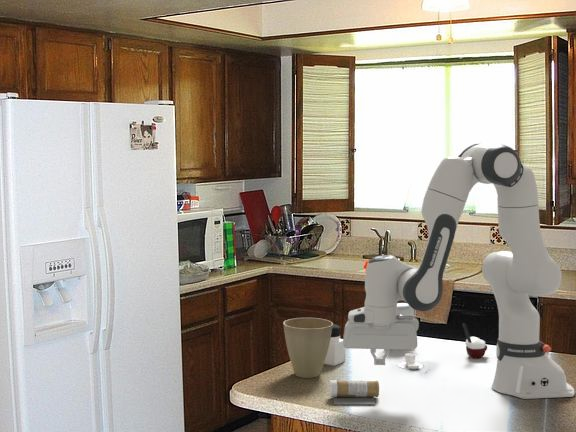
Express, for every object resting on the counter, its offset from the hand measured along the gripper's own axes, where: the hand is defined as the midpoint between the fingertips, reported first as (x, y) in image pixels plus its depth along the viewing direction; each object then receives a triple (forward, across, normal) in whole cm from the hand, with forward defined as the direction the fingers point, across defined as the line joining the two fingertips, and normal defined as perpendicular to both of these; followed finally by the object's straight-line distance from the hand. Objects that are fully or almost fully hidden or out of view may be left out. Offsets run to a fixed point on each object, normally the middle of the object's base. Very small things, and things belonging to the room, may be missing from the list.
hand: (379, 364), depth 231 cm
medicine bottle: (+10, +13, -37) cm, 40 cm away
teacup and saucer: (+10, -10, -32) cm, 35 cm away
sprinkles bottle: (+7, 0, 0) cm, 7 cm away
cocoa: (+9, -34, -45) cm, 57 cm away
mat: (+10, +7, -2) cm, 12 cm away
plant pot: (+10, +20, -22) cm, 31 cm away
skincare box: (+9, -11, -58) cm, 60 cm away
